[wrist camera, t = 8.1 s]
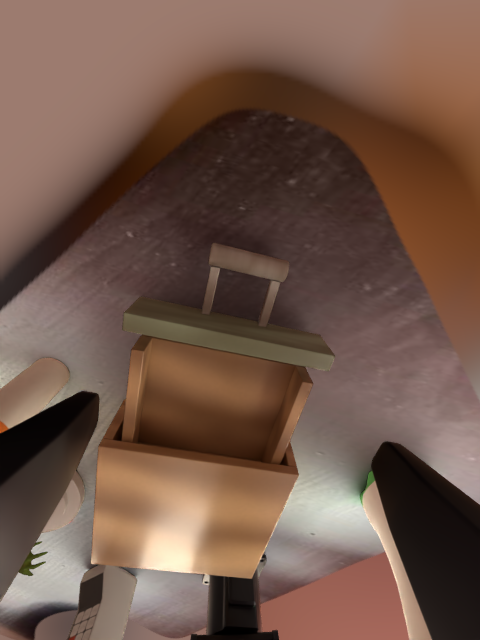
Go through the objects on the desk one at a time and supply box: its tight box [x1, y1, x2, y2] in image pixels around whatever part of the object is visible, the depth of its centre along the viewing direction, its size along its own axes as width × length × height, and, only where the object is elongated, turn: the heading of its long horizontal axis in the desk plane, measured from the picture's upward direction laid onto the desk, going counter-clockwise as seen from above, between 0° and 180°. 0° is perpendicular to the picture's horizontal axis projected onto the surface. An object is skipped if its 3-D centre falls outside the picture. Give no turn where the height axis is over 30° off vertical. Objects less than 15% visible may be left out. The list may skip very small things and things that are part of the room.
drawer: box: [122, 243, 335, 465], centre depth 19 cm, size 18×13×3 cm
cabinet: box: [91, 399, 299, 579], centre depth 24 cm, size 14×14×5 cm
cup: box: [360, 471, 432, 640], centre depth 21 cm, size 11×11×14 cm
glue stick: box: [0, 358, 70, 433], centre depth 17 cm, size 3×3×8 cm
